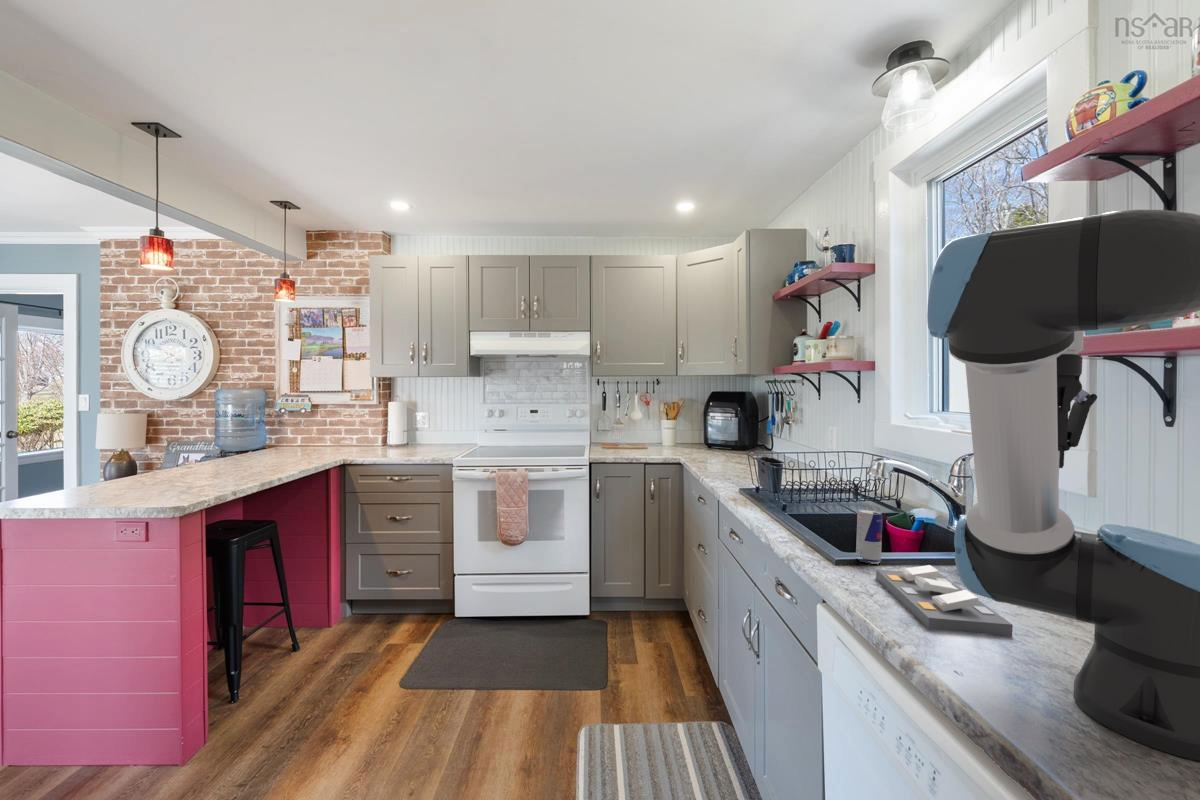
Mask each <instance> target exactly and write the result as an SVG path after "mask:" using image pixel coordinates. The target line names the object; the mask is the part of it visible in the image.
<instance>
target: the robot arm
mask: <svg viewBox="0 0 1200 800" xmlns="http://www.w3.org/2000/svg"><path fill="white" fill-rule="evenodd" d="M1199 311H1200V214H1196V213H1193V212H1191V213H1190V212H1183V211H1178V210H1168V209H1167V210H1165V209H1128V210H1117V211H1108V212H1103V213H1101V214H1095V215H1088V216H1082V217H1075V218H1070V219H1069V218H1068V219H1062V220H1057V221H1050V222H1044V223H1036V224H1029V225H1025V226H1023V225H1022V226H1016V227H1010V228H1009V227H1008V228H1003V229H997V230H994V229H989V230H987V231H986V232H983V233H977V234H971V235H968V236H964V237H963V236H962V237H959V238H954V239H952V240H951V241H949V242H948V243H947V244H946V245H945V246H944V247H942V249H941V251H940V252H939V254H938V256H937V259H936V261H935V264H934V268H933V271H932V275H931V281H930V283H929V291H928V299H927V311H926V312H927V315H926V316H927V317H926V318H927V321H926V322H927V328H928V330H929V334H930V336H931V337H934V338H937V339H939V340H942V339H943V340H944V339H946V338H947V341H948V343H947V344H948V351H949V354H950V356H951V357H952V358H954V359H955V360H958V361H959V362H961V363H962V364H964V365H965V375H966V376H965V377H966V385H967V395H968V396H967V397H968V408H969V420H970V429H971V430H970V431H971V441H972V452H973V453H972V454H973V464H974V474H975V475H974V476H975V486H976V499H977V503H975V504H974V505H972V506H971V507H970V508H969V509H968V511H967V513H966V514H962V515H963V516H962V517H961V518H960V517H959V519H958V521H957V523H956V526H955V529H954V537H953V539H954V540H953V545H954V546H953V547H954V549H955V550H954V551H955V552H954V563H955V568H956V571H957V574H958V577H959V579H960V582H961V583H962V584H963V586H964V587H965V588H966V590H967V591H969V592H970V593H972V594H974V595H977V596H981V597H984V598H987V599H991V600H993V601H994V602H997V603H998V602H999V603H1003V604H1008V605H1013V606H1016V607H1017V606H1018V607H1020V608H1021V607H1022V608H1026V609H1030V610H1034V611H1038V612H1042V613H1046V614H1050V615H1054V616H1057V617H1063V618H1067V619H1071V620H1075V621H1079V622H1084V623H1088V624H1092V625H1093V626H1094V635H1093V636H1094V637H1093V643H1092V646H1091V648H1090V650H1089V652H1088V654H1087V656H1086V657H1085V659H1084V662H1083V664H1082V666H1081V668H1080V671H1078V673H1077V674H1076V676H1075V677H1074V679H1073V694H1072V695H1073V699H1074V702H1075V703H1076V704H1077V706H1078V707H1079V708H1080V709H1081V710H1082V711H1083V712H1084V713H1086V714H1087V715H1088V716H1089V717H1091V718H1092V719H1094V720H1095V721H1097V722H1098V723H1100V724H1102V725H1103V726H1104V727H1107V728H1109V729H1110V730H1112V731H1114V732H1117V734H1120V735H1122V736H1124V737H1126V738H1128V739H1131V740H1133V741H1135V742H1138V743H1140V744H1143V745H1145V746H1148V747H1149V748H1153V749H1155V750H1156V749H1157V750H1159V751H1162V752H1165V753H1168V754H1170V755H1174V756H1178V757H1182V758H1186V759H1189V760H1193V761H1198V762H1200V544H1199V543H1196V542H1193V541H1190V540H1187V539H1184V538H1180V537H1177V536H1174V535H1169V534H1166V533H1162V532H1158V531H1153V530H1149V529H1144V528H1139V527H1135V526H1127V525H1126V526H1124V525H1120V524H1111V523H1110V524H1107V523H1106V524H1103V525H1101V526H1100V527H1099V529H1098V530H1097V531H1096V533H1097V534H1094V533H1088V532H1083V531H1077V530H1075V525H1074V523H1073V520H1072V519H1071V517H1070V516H1069V514H1067V513H1066V512H1065V511H1064V510H1062V509H1061V508H1060V503H1059V502H1060V501H1059V497H1060V496H1059V495H1060V494H1059V481H1060V480H1059V478H1060V477H1059V476H1060V469H1063V467H1064V465H1065V452H1067V451H1069V450H1070V449H1071V448H1076V447H1078V446H1079V443H1080V440H1081V436H1082V434H1083V432H1084V428H1085V424H1086V421H1087V419H1088V415H1089V412H1090V409H1091V407H1092V406H1093V404H1095V402H1096V400H1097V399H1098V395H1097V394H1095V393H1090V392H1088V391H1086V390H1085V389H1083V384H1082V382H1081V379H1080V377H1081V376H1082V373H1083V356H1082V355H1081V354H1079V353H1080V352H1081V353H1082V351H1084V332H1085V331H1099V330H1114V329H1115V330H1116V329H1123V328H1131V327H1135V326H1143V325H1149V324H1153V323H1158V322H1162V321H1166V320H1167V321H1168V320H1171V319H1177V318H1179V317H1182V316H1185V315H1190V314H1193V313H1196V312H1199ZM1073 401H1074V402H1073ZM1072 402H1073V404H1072ZM1071 404H1072V405H1071Z"/></svg>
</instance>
